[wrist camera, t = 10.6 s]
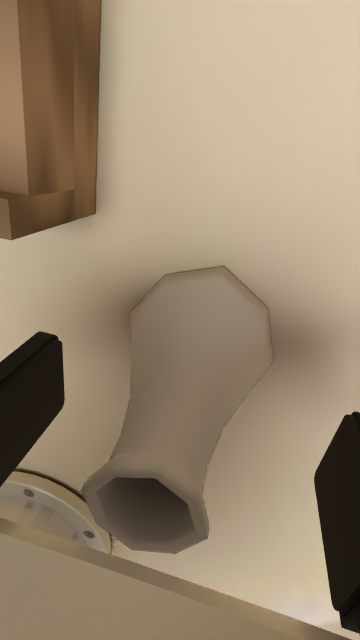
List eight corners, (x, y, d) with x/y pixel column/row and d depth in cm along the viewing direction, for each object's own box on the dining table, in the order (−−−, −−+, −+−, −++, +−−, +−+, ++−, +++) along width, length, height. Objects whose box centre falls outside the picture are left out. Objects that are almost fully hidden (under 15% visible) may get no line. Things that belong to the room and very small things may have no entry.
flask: (109, 303, 17) (-42, 446, 9) (233, 238, 15) (198, 350, 6) (177, 405, 19) (112, 607, 11) (297, 365, 17) (343, 591, 8)
